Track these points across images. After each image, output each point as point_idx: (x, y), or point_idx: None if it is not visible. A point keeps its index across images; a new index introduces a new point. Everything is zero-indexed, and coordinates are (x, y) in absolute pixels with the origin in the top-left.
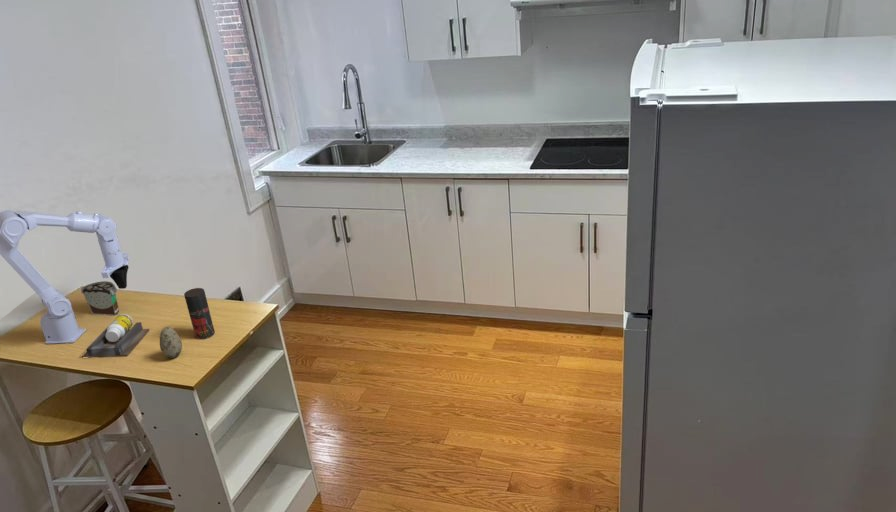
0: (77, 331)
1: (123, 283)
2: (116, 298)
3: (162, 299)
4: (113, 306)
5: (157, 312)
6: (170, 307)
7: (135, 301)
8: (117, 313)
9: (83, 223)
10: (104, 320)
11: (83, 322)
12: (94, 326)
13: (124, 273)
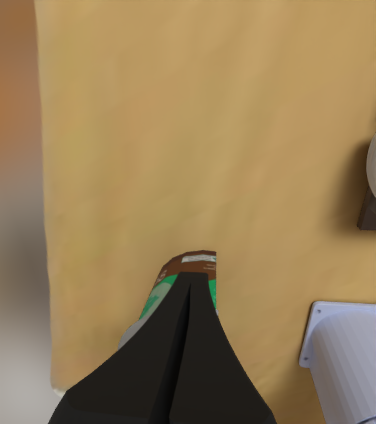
0: (367, 321)
1: (212, 302)
2: (165, 287)
3: (77, 114)
4: (215, 275)
5: (204, 71)
6: (152, 15)
7: (108, 226)
8: (203, 250)
9: None
10: (249, 272)
11: (252, 325)
12: (289, 286)
13: (180, 372)
